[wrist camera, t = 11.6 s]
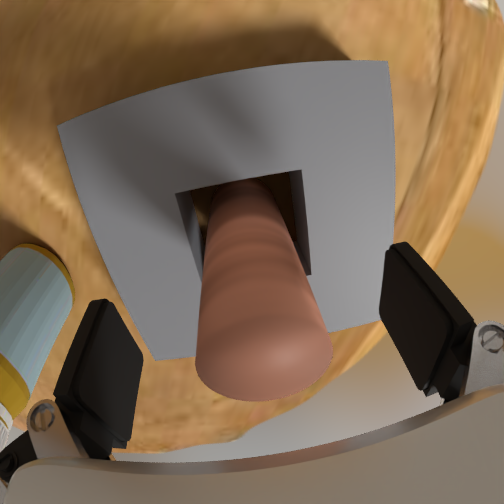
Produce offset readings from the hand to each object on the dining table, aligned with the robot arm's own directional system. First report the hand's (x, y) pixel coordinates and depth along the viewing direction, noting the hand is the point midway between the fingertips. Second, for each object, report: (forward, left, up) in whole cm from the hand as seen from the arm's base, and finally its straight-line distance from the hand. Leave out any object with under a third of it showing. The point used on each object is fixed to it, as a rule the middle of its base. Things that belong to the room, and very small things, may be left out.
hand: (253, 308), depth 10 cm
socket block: (+1, 0, -10) cm, 10 cm away
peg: (+1, 0, -10) cm, 10 cm away
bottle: (+3, -17, -10) cm, 20 cm away
